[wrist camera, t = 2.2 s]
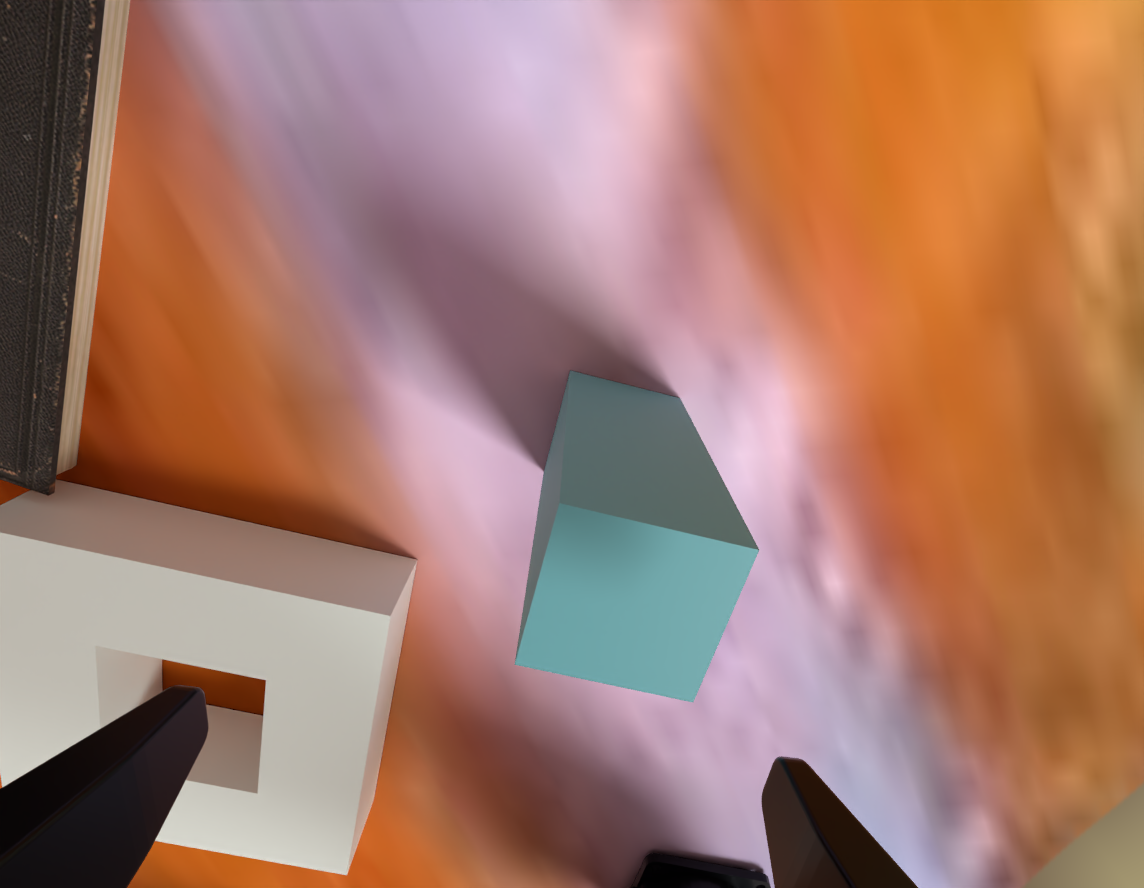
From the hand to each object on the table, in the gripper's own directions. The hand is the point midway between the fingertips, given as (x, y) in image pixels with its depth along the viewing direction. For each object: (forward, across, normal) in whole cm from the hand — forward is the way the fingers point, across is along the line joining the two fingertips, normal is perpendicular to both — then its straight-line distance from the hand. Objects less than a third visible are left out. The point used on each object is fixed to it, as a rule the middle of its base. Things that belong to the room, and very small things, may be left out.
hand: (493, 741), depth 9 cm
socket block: (+13, +12, +12) cm, 21 cm away
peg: (+13, -2, 0) cm, 13 cm away
